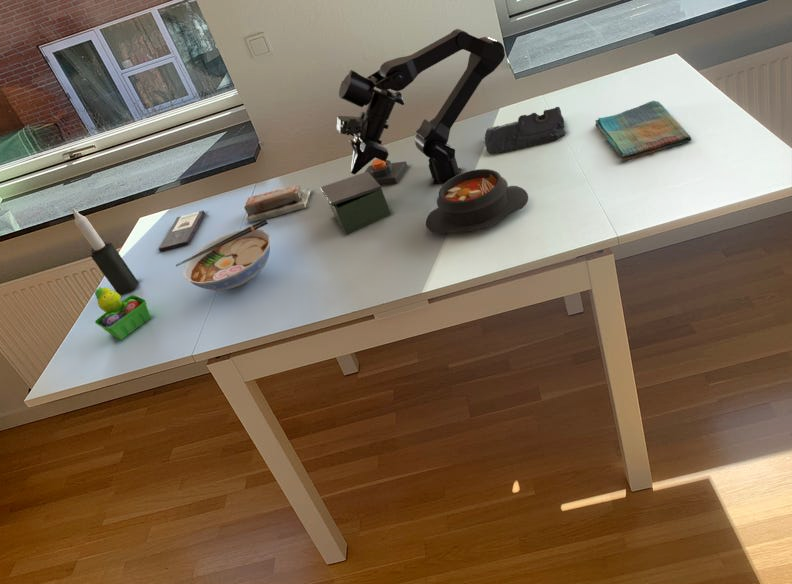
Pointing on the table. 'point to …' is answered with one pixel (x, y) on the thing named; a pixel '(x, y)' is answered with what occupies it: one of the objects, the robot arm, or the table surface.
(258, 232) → the ramen bowl
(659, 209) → the table surface
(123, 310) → the fruit basket
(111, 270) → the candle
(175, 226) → the chocolate bar
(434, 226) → the casserole
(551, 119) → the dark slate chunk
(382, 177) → the pad
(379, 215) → the dark green boxy piece
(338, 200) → the grey flat plate
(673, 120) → the dish towel
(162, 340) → the table surface
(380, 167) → the button
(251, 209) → the packaged product
